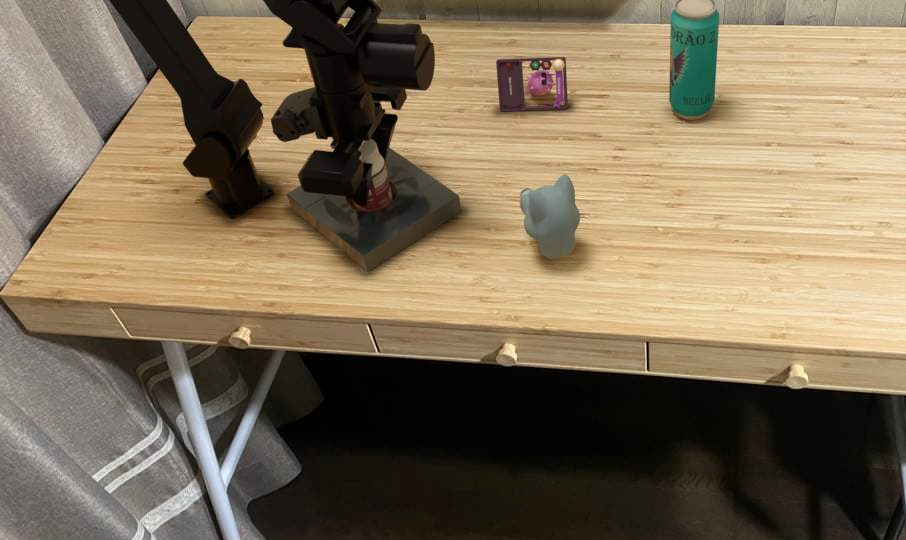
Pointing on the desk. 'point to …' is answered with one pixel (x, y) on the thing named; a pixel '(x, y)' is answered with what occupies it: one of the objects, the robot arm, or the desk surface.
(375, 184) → the pill bottle
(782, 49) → the desk surface
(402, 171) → the grey square slab
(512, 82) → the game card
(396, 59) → the robot arm
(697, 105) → the beverage can
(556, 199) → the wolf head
